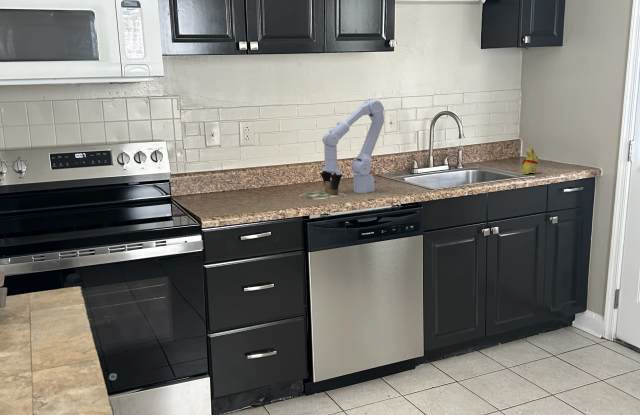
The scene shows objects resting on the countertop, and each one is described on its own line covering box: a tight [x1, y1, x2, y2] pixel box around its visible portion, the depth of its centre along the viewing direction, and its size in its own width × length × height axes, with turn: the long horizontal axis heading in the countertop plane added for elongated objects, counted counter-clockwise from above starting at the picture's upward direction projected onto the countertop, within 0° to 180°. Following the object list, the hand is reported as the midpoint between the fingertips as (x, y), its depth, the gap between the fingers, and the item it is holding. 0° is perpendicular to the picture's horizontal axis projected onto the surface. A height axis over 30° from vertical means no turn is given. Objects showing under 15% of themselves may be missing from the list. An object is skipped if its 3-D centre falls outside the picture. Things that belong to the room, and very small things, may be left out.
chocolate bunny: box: [521, 145, 539, 174], centre depth 340 cm, size 7×11×15 cm, turn 123°
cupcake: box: [369, 169, 376, 178], centre depth 330 cm, size 9×8×12 cm
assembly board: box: [298, 190, 348, 201], centre depth 293 cm, size 18×14×2 cm
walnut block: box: [324, 180, 339, 195], centre depth 295 cm, size 4×4×6 cm
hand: (331, 188), depth 295 cm, fingers open, 7 cm apart
